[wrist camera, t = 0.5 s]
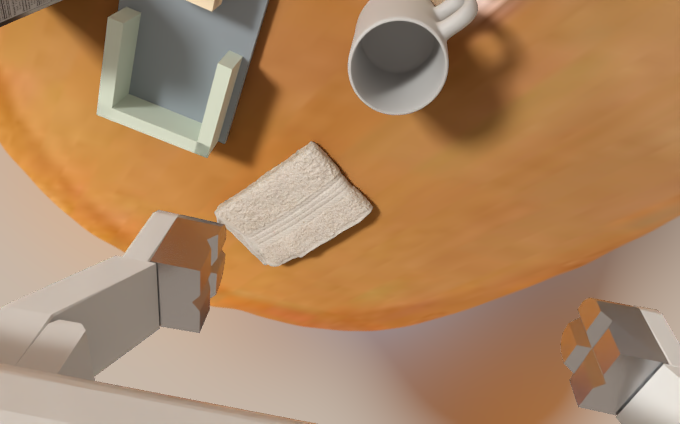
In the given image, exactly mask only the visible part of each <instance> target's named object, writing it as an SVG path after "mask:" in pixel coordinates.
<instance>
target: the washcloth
mask: <svg viewBox="0 0 680 424" xmlns="http://www.w3.org/2000/svg"><path fill="white" fill-rule="evenodd" d="M372 209H373V206H372V205H371V204H370V202H369V201H368V200H367V199H366V197H365V196H363V195H362V193H361V192H360V191H359V190H358V189H357V188H355V187H354V186H352V185H351V184H350V183H349V182H348V180H347V179H346V178H345V177H344V176H343V175H342V174H341V172H340V169H339V168H338V167H337V165H336V164H335V163H334V162H333V161H332V160H331V159H330V157H329V156H327V153H325V152H324V151H323V150H322V149H321V148H320V147H319V146H318V145H317V144H316V143H315V142H312V141H311V142H310V143H309V144H308V145H306V146H305V147H303V148H301V149H300V150H297V152H296V153H295V154H292V156H291V157H289V158H288V159H287V160H285V161H284V162H281V164H278V165H277V166H276V167H274V168H273V169H272V170H270V171H268V172H266V173H265V174H264V175H263V176H261V177H260V178H259V179H258V180H257V181H256V182H253V183H252V184H250V185H249V186H248V187H247V188H246V189H244V190H242V191H240V193H238V194H236V195H234V196H233V197H231V198H229V199H228V200H225V202H223V203H221V204H220V205H219V206H218V207H217V210H216V211H215V212H214V213H215V215H216V217H217V222H218V223H221V224H225V226H226V228H227V229H228V230H229V231H230V232H232V234H233V235H234V236H235V237H236V238H237V239H238V240H239V241H241V243H243V244H244V246H246V247H247V249H248V250H249V251H250V252H251V253H252V254H253V255H255V256H256V257H257V258H258V259H259V260H260V261H261V262H262V263H263V264H264V265H267V264H269V265H270V266H274V267H275V266H279V265H281V264H284V263H286V262H288V261H290V260H292V259H295V258H297V257H303V256H305V255H306V254H307V253H309V252H310V251H312V250H313V249H315V248H316V247H318V246H320V245H322V244H324V243H326V242H327V241H329V240H331V239H332V238H334V237H336V236H337V235H338V234H340V233H341V232H343V231H345V230H347V229H349V228H350V227H352V226H354V225H356V224H357V223H359V222H360V221H362V220H363V219H364V218H365V217H366V216H367V215H368V214H369V213H371V211H372Z"/></svg>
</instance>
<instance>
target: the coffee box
mask: <svg viewBox="0 0 680 424" xmlns="http://www.w3.org/2000/svg"><path fill="white" fill-rule="evenodd" d="M60 1H62V0H0V27H1V26H4V25H6V24H8V23H11V22H13V21H15V20H18V19H20V18H22V17H25V16H27V15H29V14H32V13H34V12H36V11H39V10H41V9H43V8H46V7H48V6H50V5H53V4H55V3H57V2H60Z"/></svg>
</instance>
